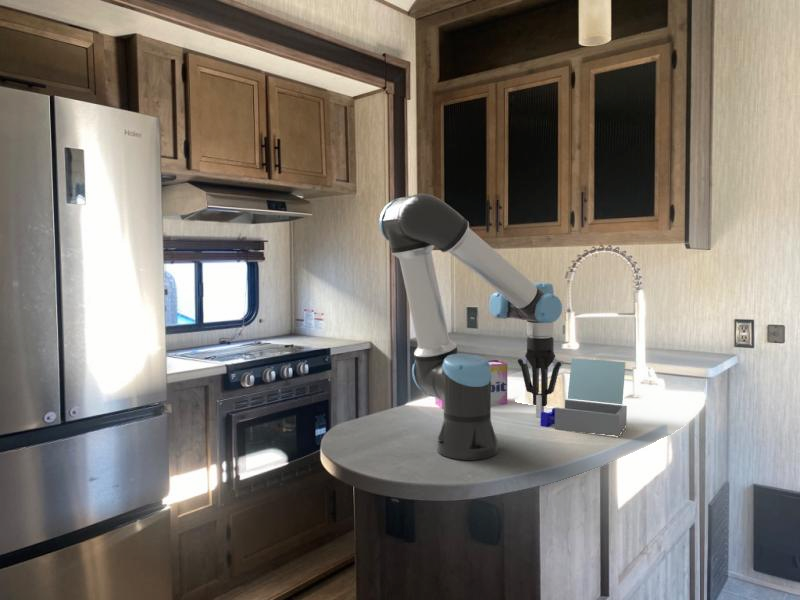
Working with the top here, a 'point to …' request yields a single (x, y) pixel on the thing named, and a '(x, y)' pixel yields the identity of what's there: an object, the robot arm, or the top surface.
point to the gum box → (493, 383)
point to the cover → (596, 380)
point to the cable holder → (548, 418)
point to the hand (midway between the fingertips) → (539, 416)
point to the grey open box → (591, 417)
